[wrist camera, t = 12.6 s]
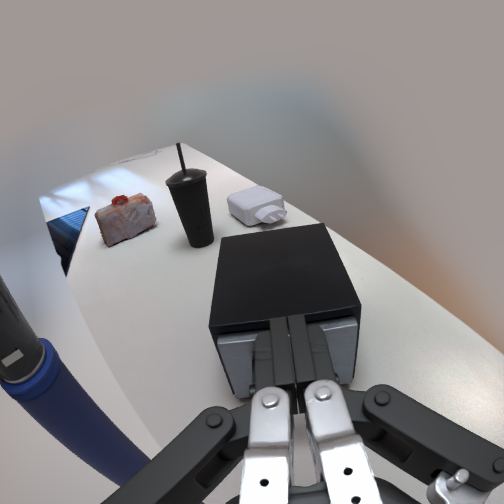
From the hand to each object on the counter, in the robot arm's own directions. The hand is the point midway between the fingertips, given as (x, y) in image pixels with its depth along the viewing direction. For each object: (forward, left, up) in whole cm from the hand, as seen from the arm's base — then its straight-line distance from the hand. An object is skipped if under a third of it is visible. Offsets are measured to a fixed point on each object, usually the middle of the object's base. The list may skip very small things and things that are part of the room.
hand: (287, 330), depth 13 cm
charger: (+19, +48, -18) cm, 54 cm away
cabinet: (+7, +16, -18) cm, 25 cm away
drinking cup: (+5, +47, -18) cm, 50 cm away
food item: (-9, +64, -18) cm, 67 cm away
